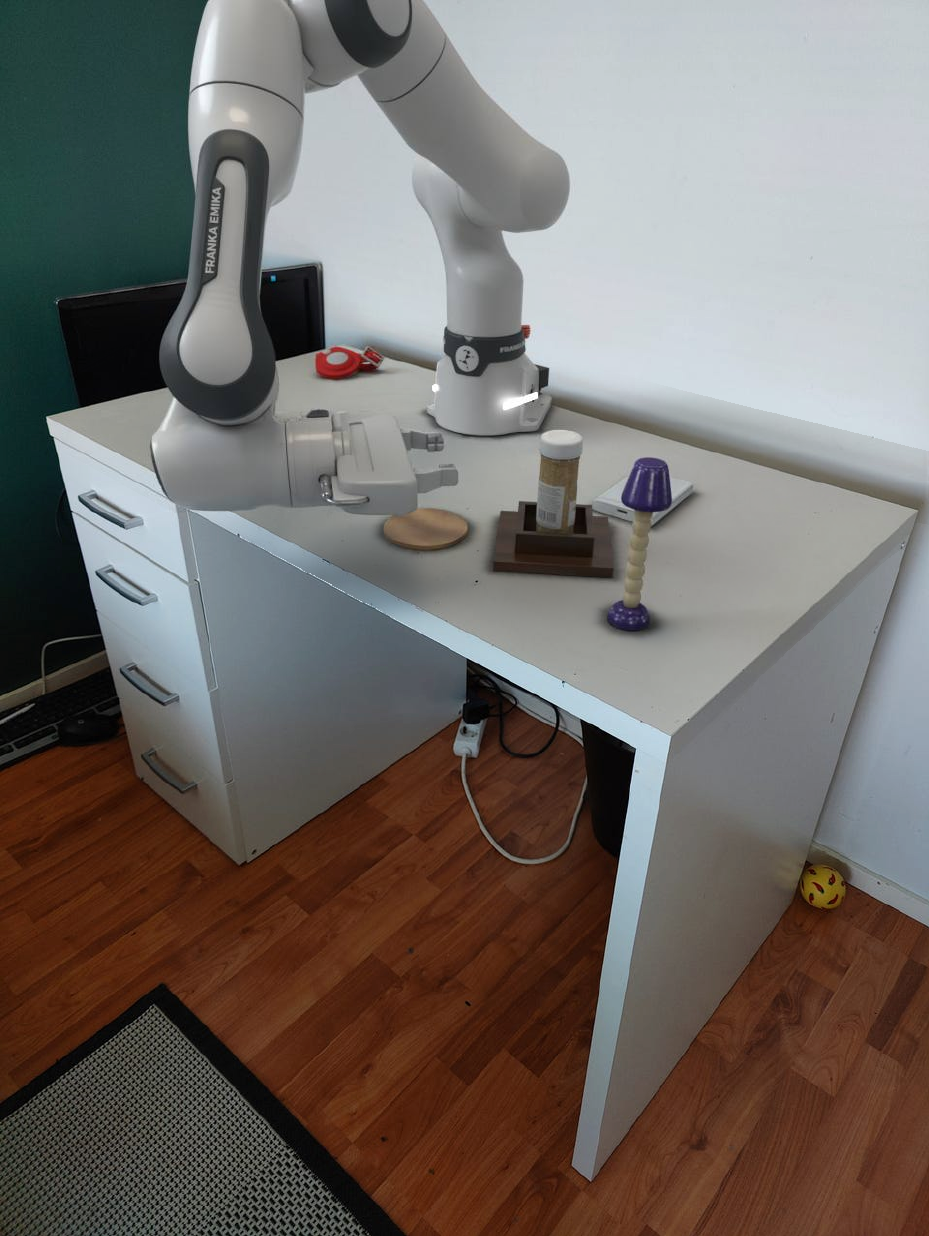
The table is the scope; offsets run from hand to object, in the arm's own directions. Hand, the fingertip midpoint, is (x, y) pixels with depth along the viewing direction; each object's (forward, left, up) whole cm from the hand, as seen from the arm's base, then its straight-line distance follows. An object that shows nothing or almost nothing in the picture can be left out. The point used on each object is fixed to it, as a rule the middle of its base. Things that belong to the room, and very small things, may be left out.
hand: (449, 457), depth 91 cm
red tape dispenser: (-54, -47, -12) cm, 73 cm away
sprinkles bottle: (-7, +10, -12) cm, 17 cm away
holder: (-7, +10, -12) cm, 17 cm away
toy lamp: (+4, +22, -12) cm, 26 cm away
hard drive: (-24, +16, -12) cm, 31 cm away
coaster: (-4, -5, -12) cm, 13 cm away
